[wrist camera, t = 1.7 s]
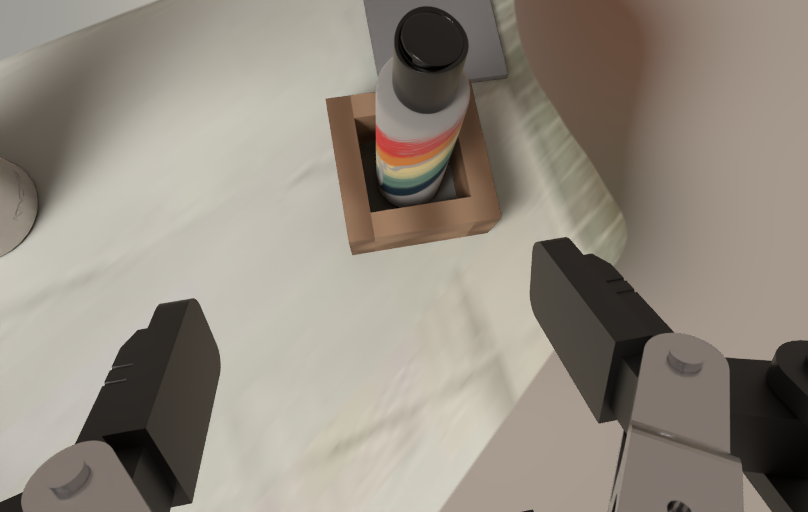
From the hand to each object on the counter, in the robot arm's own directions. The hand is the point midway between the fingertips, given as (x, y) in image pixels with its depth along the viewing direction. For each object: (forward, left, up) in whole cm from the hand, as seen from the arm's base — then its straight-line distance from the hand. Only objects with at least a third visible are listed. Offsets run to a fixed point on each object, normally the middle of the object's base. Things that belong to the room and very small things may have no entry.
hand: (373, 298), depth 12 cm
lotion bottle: (+5, +13, -30) cm, 33 cm away
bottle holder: (+5, +13, -29) cm, 33 cm away
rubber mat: (+10, +27, -29) cm, 41 cm away
